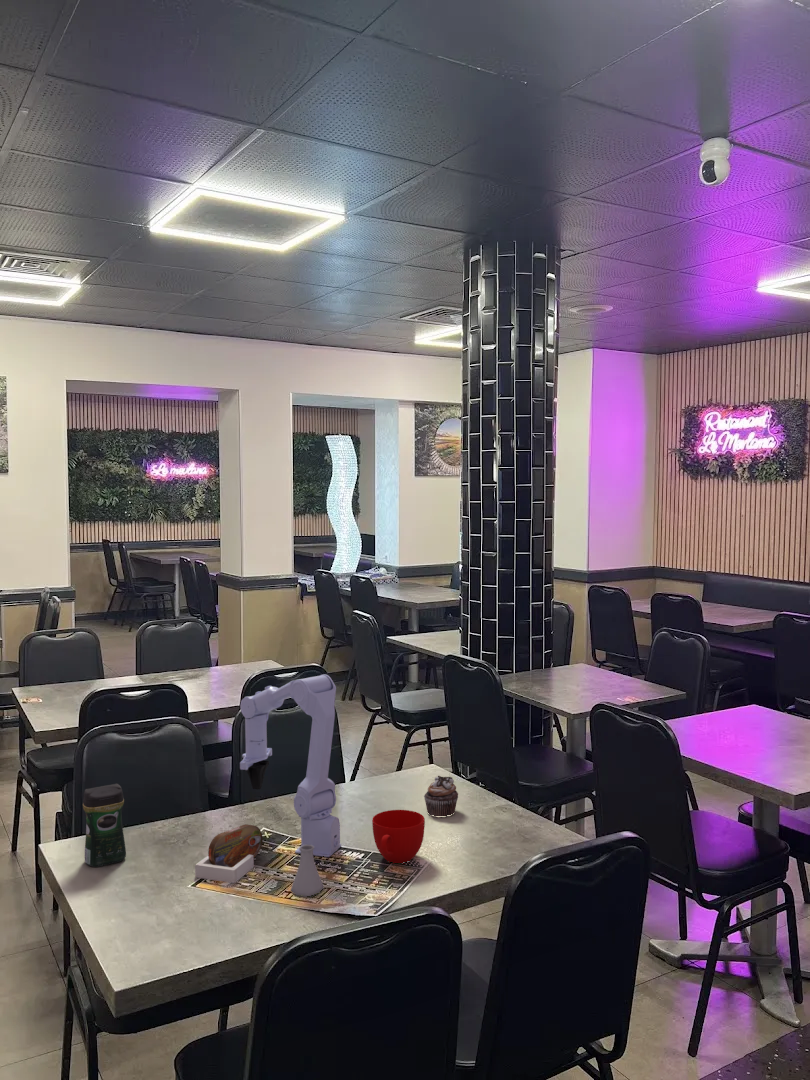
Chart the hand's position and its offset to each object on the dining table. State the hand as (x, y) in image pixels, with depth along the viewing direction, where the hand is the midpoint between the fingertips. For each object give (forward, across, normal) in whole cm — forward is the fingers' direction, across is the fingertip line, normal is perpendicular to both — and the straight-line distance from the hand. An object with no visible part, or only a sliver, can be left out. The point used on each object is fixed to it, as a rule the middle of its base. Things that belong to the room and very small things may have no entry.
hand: (256, 788), depth 235 cm
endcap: (+10, +28, +7) cm, 31 cm away
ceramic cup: (+11, +11, +44) cm, 47 cm away
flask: (+11, +32, +30) cm, 45 cm away
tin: (+11, +23, +7) cm, 26 cm away
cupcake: (+11, -25, +45) cm, 53 cm away
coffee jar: (+11, +32, -25) cm, 42 cm away
